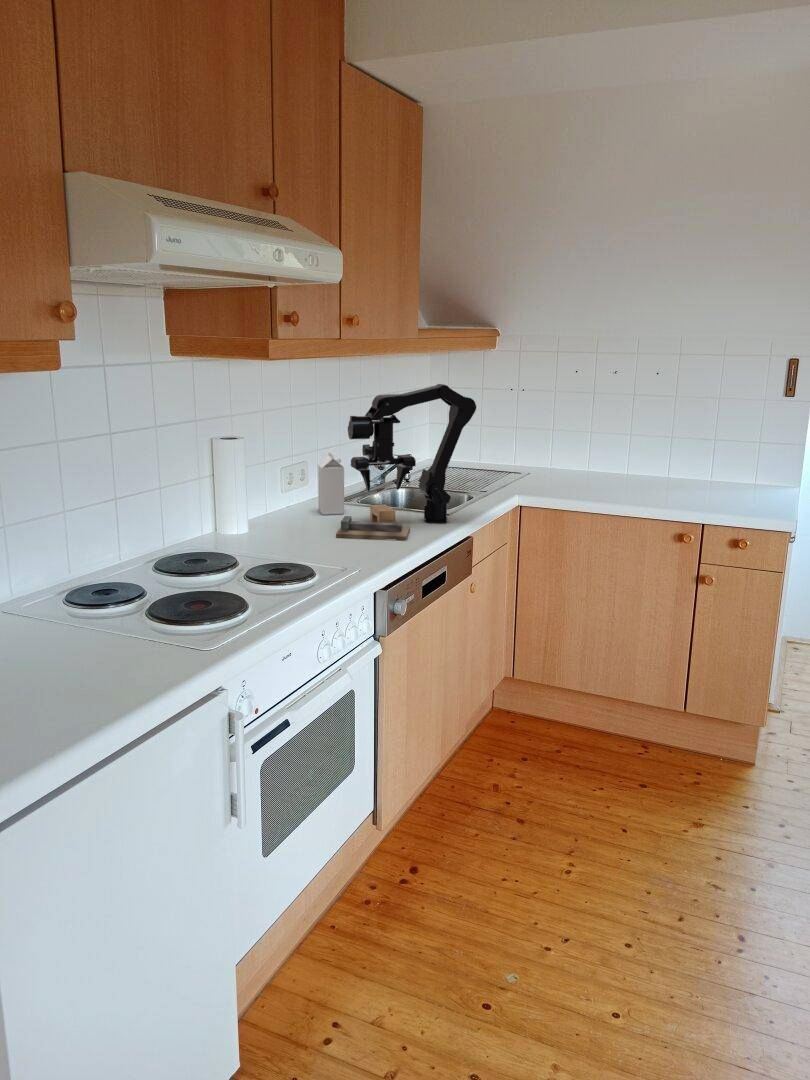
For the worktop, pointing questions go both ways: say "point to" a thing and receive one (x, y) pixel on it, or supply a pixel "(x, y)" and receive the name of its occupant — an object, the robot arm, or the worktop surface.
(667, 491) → the worktop surface
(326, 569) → the worktop surface
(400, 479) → the robot arm
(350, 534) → the rail board
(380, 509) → the block
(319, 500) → the milk carton
